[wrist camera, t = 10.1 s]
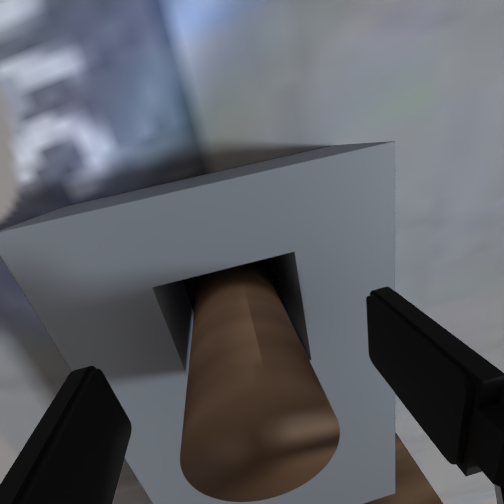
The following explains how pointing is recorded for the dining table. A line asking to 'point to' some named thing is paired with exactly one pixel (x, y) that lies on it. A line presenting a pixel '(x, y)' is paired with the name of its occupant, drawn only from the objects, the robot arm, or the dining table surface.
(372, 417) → the socket block
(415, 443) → the dining table surface
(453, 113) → the dining table surface
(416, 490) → the glass-topped wooden stand
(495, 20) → the dining table surface
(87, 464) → the robot arm
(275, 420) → the peg
